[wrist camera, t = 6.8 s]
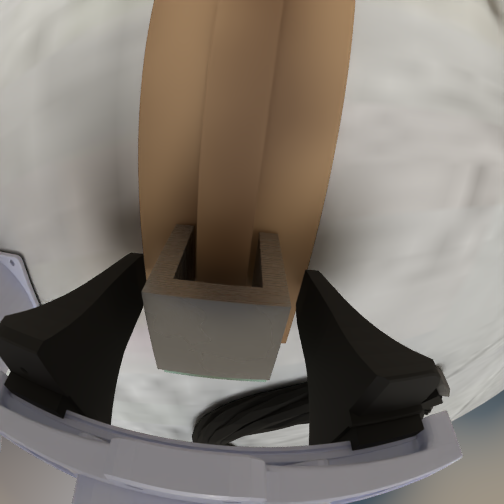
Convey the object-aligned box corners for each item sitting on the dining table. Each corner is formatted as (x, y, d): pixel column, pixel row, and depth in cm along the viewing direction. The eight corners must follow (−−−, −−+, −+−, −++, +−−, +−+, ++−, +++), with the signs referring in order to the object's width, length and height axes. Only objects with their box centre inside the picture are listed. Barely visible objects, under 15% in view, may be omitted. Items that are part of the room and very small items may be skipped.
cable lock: (141, 446, 22) (431, 337, 12) (147, 419, 26) (406, 295, 15) (286, 482, 33) (458, 416, 23) (285, 464, 36) (450, 395, 26)
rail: (157, 323, 16) (140, 376, 12) (177, -63, 5) (153, -105, 1) (284, 336, 16) (291, 391, 13) (352, -47, 5) (387, -83, 2)
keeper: (178, 295, 13) (157, 368, 9) (176, 224, 11) (141, 292, 7) (264, 303, 14) (269, 380, 10) (277, 234, 12) (291, 307, 8)
